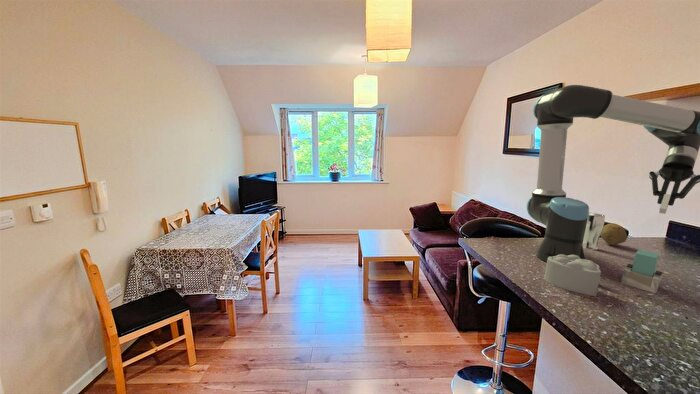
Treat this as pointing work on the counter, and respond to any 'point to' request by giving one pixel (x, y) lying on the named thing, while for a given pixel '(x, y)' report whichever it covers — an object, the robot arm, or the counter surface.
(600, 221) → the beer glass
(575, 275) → the lumpy-topped squat cylinder
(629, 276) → the guide channel
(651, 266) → the teal block
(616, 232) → the natural sponge
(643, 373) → the counter surface
